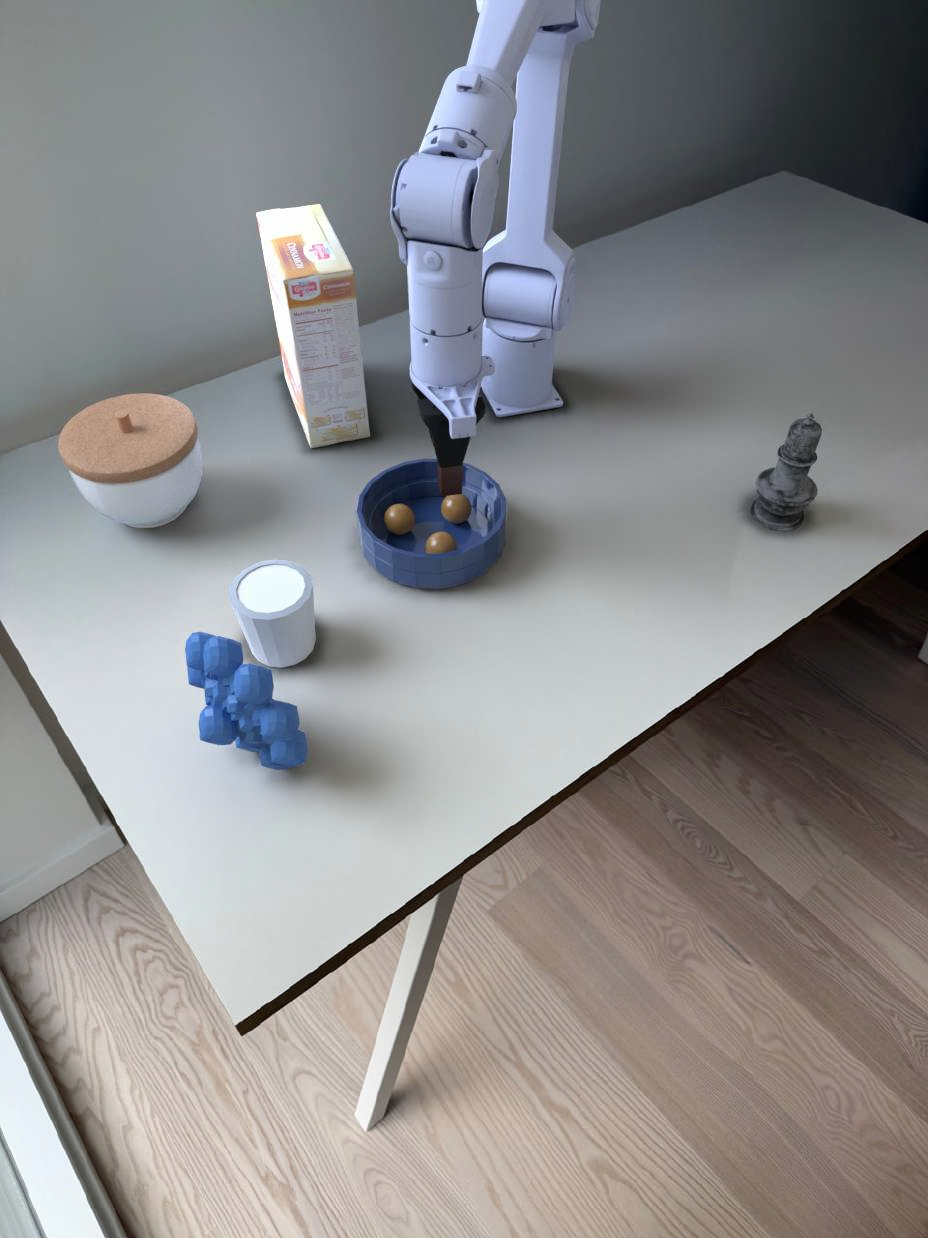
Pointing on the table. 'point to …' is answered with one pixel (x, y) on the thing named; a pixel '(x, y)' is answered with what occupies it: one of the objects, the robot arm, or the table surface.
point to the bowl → (431, 525)
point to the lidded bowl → (135, 458)
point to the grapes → (242, 703)
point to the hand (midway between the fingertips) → (447, 455)
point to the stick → (450, 480)
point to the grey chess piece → (788, 479)
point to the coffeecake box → (316, 322)
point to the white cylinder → (275, 611)
